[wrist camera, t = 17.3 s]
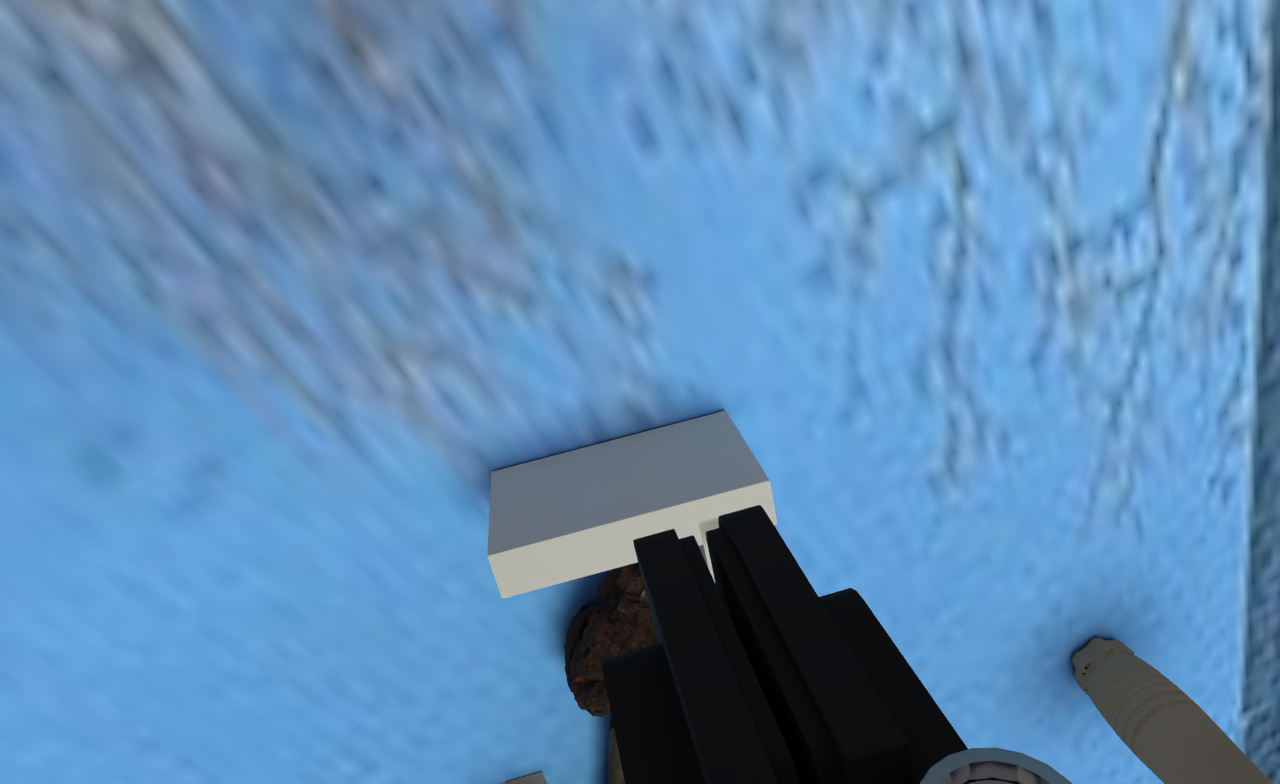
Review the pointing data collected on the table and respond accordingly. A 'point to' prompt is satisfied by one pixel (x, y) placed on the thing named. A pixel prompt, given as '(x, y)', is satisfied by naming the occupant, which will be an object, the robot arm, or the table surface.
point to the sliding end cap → (618, 501)
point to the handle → (1159, 719)
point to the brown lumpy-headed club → (607, 644)
